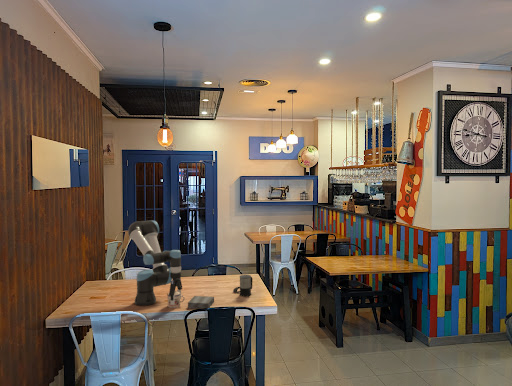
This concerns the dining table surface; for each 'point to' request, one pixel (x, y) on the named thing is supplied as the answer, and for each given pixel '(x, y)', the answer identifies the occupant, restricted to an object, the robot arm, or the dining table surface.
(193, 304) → the grey stand
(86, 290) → the dining table surface
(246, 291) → the milk frother
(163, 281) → the robot arm
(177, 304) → the teacup with lid
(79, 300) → the dining table surface
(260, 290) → the dining table surface
